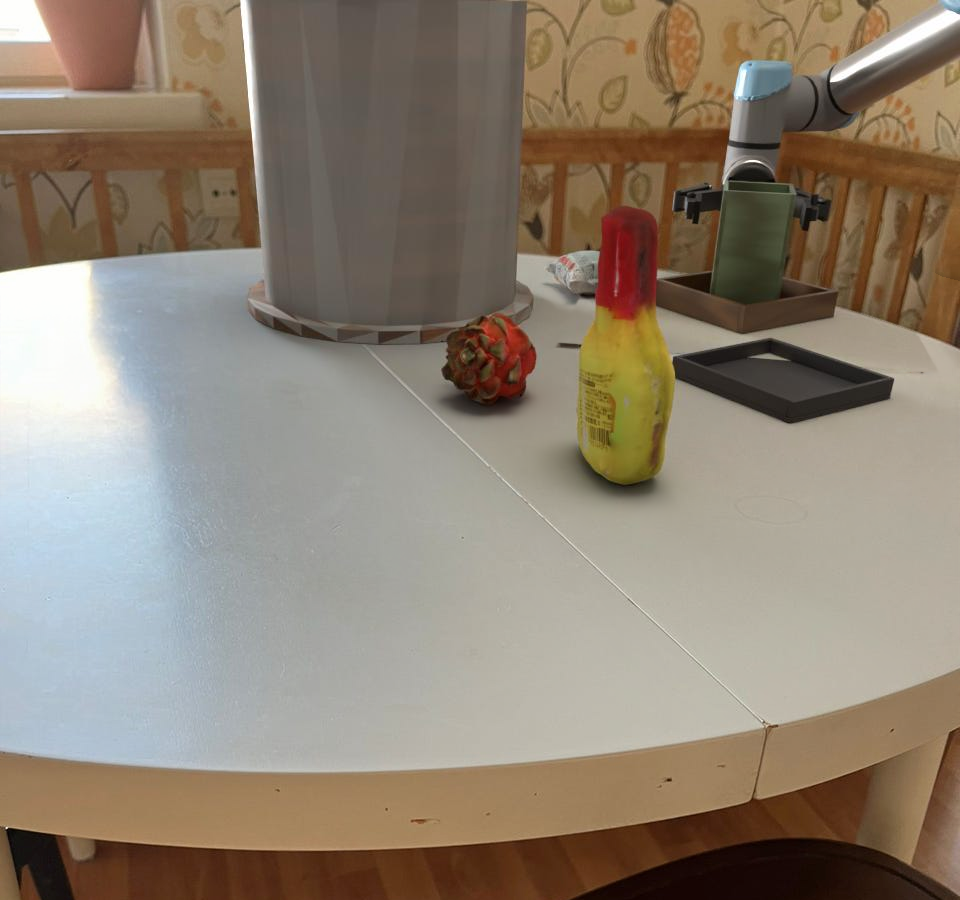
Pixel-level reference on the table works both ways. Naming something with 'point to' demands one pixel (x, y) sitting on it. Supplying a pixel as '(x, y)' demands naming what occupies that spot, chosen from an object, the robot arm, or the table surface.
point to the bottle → (625, 356)
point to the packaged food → (577, 271)
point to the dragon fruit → (489, 359)
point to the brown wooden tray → (696, 302)
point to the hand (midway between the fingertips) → (751, 216)
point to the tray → (782, 379)
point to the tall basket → (752, 241)
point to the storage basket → (386, 165)
